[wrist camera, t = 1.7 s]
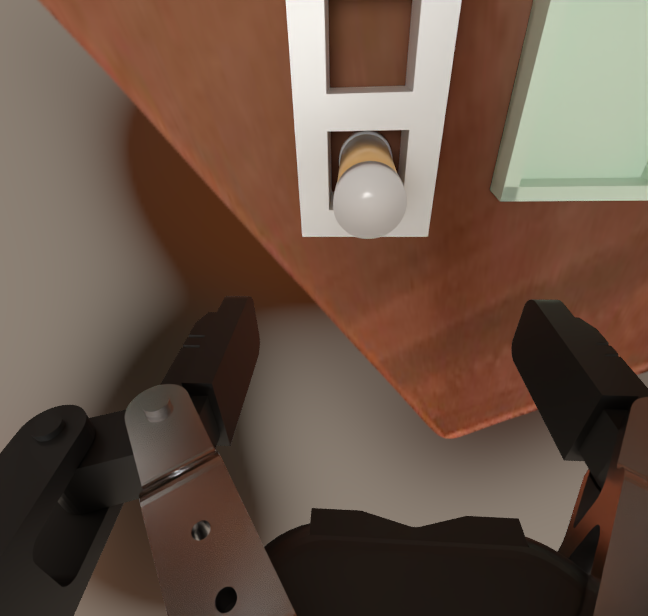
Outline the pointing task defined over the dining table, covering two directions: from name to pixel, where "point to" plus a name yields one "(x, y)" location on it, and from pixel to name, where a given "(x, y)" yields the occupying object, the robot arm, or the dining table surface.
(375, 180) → the fuse
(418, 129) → the frame
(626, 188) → the parts tray
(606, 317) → the dining table surface
